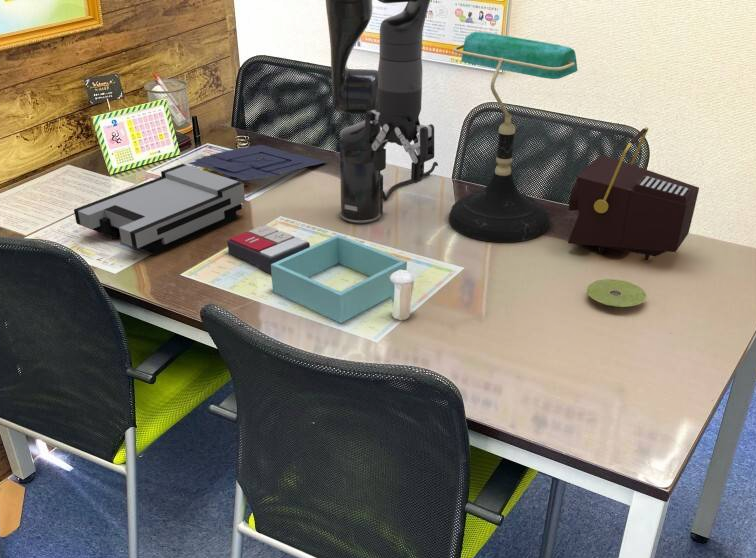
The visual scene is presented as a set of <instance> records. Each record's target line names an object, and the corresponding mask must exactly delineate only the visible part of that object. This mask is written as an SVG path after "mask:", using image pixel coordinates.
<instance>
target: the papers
mask: <svg viewBox="0 0 756 558" xmlns="http://www.w3.org/2000/svg"><path fill="white" fill-rule="evenodd" d="M325 163H327V160H322V159H318V158H315V157H314V158H313V157H309V156H305V155H302V154H298V153H294V152H293V153H292V152H289V151H287V150H282V149H279V148H275V147H272V146H268V145H264V144H257V145H251V146H243V147H239V148H234V149H230V150H226V151H225V150H224V151H220V152H217V153H212V154H209V155H206V156H202V157H201V158H196V159H194V161H192V162H187V165H188V164H189V165H192V166H196V167H200V168H203V169H206V170H210V171H213V172H217V173H220V174H223V175H227V176H230V177H233V178H235V179H236V178H237V179H240V180H243V181H249V180H254V179H257V180H260V179H265V178H271V177H276V176H278V175H281V174H285V173H288V172H292V171H296V170H300V169H304V168H307V167H311V166H312V167H313V166H316V165H317V166H318V165H321V164H325Z"/></svg>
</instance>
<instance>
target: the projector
mask: <svg viewBox="0 0 756 558" xmlns="http://www.w3.org/2000/svg"><path fill="white" fill-rule="evenodd" d="M648 131H649V127H648V126H645V127H644V128H642V129H641V130H640V131H639V132H638V133H637V134H636V135H635V136H634V137H633V138H632V139H631V140H630V141H629V142H628V144H627V146H626V147H625V149H624V150H623V153H622V155H621V157H620V159H617V158H613V157H611V156H607V155H605V154H600V155H598V156H597V158H595V159H594V160H593V161H592V162H591V163H590V164H589V165H588V166H587V167H586V168H585V169H584V170H582V171H581V173H579V174H578V175H577V176H576V180H575V182H574V183H573V185H572V188H571V191H570V194H569V198H568V199H569V200H568V211H570V212H573V211H578V216H577V219H576V221H575V223H574V226H573V227H572V231H571V234H570V235H569V238H568V241H567V244H573V245H585V246H594V247H595V246H597V247H598V253H600V254H603V253H604V250H605V248H607V249H611V250H612V249H613V250H617V251H622V252H628V253H633V254H638V255H643V256H644V261H646V262H648V261H649V259H650V258H651V257H653V258H656V257H658V256H661V255H663V254H664V253H668V252H669V253H676V252H677V251H678V250H679V248H680V246H681V245H682V244H683V242H684V241H685V239H686V238H687V236H689V232H690V229H691V225H692V220H693V217H694V212H695V208H696V203H697V200H698V196H699V190H700V187H699V186H695V185H693V184H690V183H687V182H684V181H682V180H678V179H676V178H673V177H670V176H667V175H663V174H661V173H658V172H655V171H652V170H649V169H646V168H643V167H640V166H637V165H634V163H635V161H636V159H637V156H638V154H639V152H640V149H641V147H642V145H643V143H644V140H645V138H646V135H647V133H648ZM639 139H640V141H639ZM638 141H639V143H638V146H637V147H636V150H635V153H634V154H633V156H632V160H631V161H630V163H628V162H626V161H624V159H625V157H626V154H627V153H628V151H629V149H630V147H632V145H634V144H636V142H638Z"/></svg>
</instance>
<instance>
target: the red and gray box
mask: <svg viewBox="0 0 756 558" xmlns="http://www.w3.org/2000/svg"><path fill="white" fill-rule="evenodd" d="M226 242H227V250H228V254H229V255H231V256H233V257H236V258H238V259H240V260H244V261H246V262H248V263H250V264H253V265H255V266H257V267H258V268H259V269H260V270H261V271H263V272H265V273H268V274H270V275H272V274H271V264H273V263H275V262H278V261H280V260H282V259H284V258H287V257H289V256H291V255H293V254H296V253H298V252H300V251H302V250H304V249H307V248H309V247H311V245H310V244H311V243H310V242H308V241H306V240H304V239H302V238H299V237H295V236H294V235H293V234H291V233H289V232H285V231H283V230H279V229H277V228H274V227H272V226H270V225H266V224H263V225H261V226H259V227H256V228H253V229H250V230H249V231H244V232H242V233H239V234H237V235H235V236H232V237H230V238H229V239H228V240H227V241H226Z"/></svg>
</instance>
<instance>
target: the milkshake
mask: <svg viewBox="0 0 756 558" xmlns="http://www.w3.org/2000/svg"><path fill="white" fill-rule="evenodd" d="M386 271H387V270H386ZM387 273H388V272H387ZM388 275H389V274H388ZM389 277H390V284H391V297H390V298H391V311H392V317H393V318H394V319H395V320H399V321H405V320H407V319H409V318H410V316H411V309H412V299H413V291H414V285H415V280H416V279H415V276H414V274H413V273H412V272H410V271H408V269H407V270H398V271H396V272H394V273H392V274H391V276H389Z"/></svg>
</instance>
